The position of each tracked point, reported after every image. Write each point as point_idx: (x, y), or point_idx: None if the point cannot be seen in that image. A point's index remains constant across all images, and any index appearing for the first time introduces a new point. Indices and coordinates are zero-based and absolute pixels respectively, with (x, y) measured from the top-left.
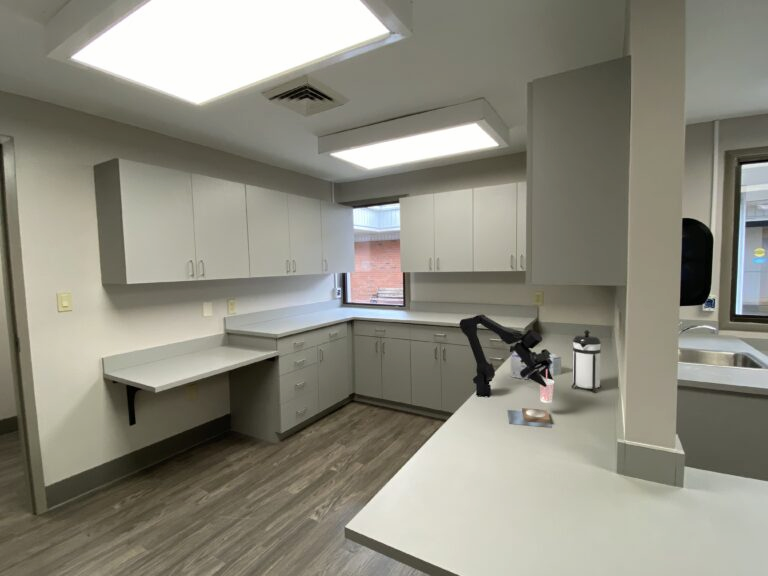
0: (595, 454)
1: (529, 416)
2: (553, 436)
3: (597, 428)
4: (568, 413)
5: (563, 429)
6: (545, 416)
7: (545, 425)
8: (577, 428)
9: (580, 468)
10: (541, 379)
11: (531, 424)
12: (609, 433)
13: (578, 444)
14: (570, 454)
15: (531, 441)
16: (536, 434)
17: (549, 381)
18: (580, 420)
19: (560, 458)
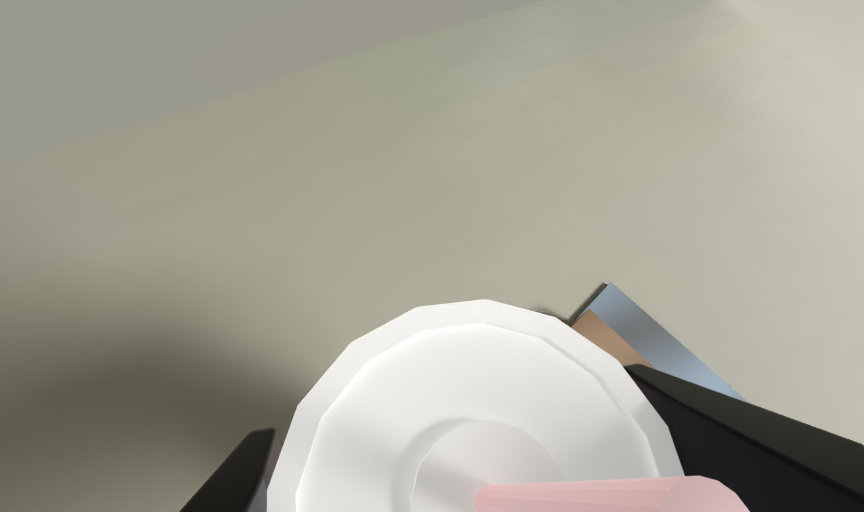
0: (632, 19)
1: None
2: (688, 208)
3: (346, 117)
4: (236, 369)
5: (551, 225)
6: None
7: (632, 323)
8: (455, 183)
9: (780, 11)
10: (845, 442)
11: None
12: (358, 58)
13: (628, 92)
14: (741, 72)
15: (861, 245)
16: (776, 283)
17: (449, 425)
18: (307, 235)
19: (811, 80)
